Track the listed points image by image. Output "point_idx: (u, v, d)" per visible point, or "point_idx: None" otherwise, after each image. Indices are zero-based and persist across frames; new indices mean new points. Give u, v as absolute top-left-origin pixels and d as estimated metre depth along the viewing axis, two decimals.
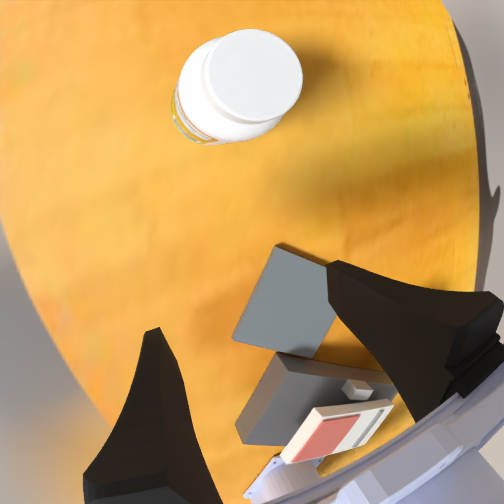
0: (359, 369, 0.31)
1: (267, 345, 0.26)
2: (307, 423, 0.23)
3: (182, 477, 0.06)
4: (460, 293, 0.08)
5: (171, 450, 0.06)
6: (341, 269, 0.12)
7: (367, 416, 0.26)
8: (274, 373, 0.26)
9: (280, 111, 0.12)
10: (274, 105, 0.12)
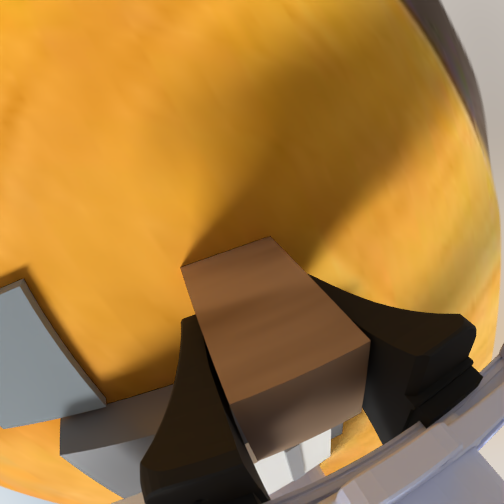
0: None
1: (33, 420, 0.13)
2: None
3: (244, 457, 0.06)
4: (427, 315, 0.08)
5: (232, 430, 0.07)
6: None
7: None
8: None
9: None
10: None
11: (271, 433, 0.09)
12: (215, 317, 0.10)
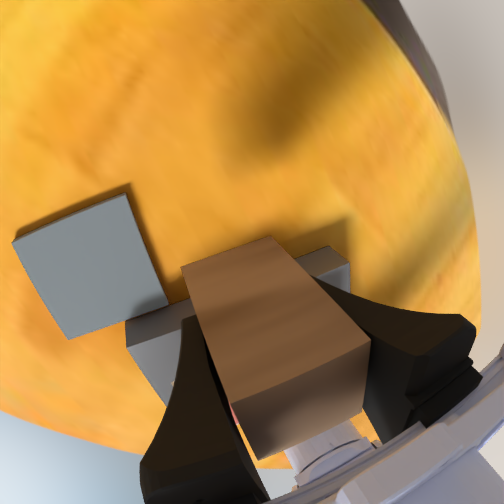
0: None
1: (101, 324, 0.20)
2: None
3: (244, 457, 0.06)
4: (427, 315, 0.08)
5: (232, 430, 0.07)
6: None
7: None
8: None
9: None
10: None
11: (272, 433, 0.09)
12: (216, 316, 0.10)
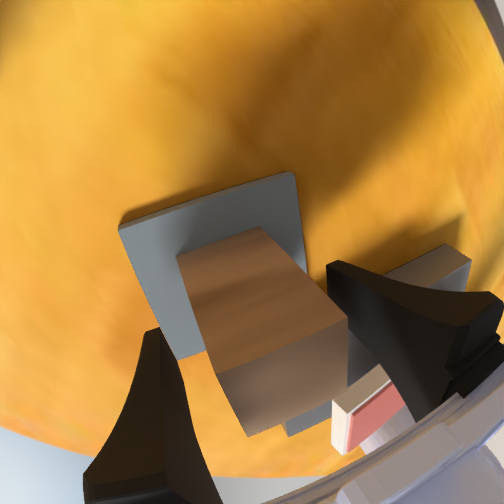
0: (399, 270, 0.20)
1: None
2: (336, 417, 0.15)
3: (182, 477, 0.06)
4: (460, 293, 0.08)
5: (171, 450, 0.06)
6: (341, 269, 0.12)
7: None
8: None
9: None
10: None
11: (258, 408, 0.09)
12: (206, 299, 0.11)
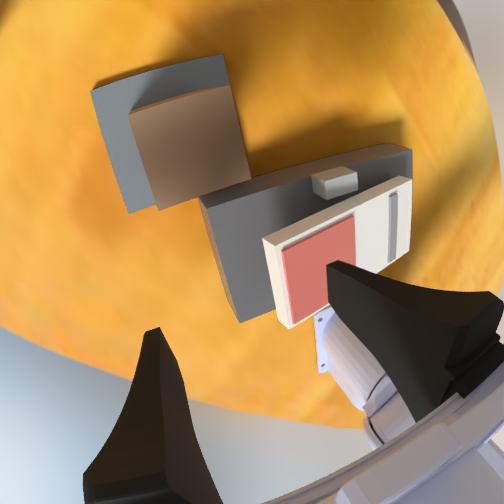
0: (337, 155, 0.23)
1: None
2: (270, 263, 0.18)
3: (182, 477, 0.06)
4: (460, 293, 0.08)
5: (171, 450, 0.06)
6: (341, 269, 0.12)
7: (373, 211, 0.19)
8: (206, 220, 0.20)
9: None
10: None
11: (164, 167, 0.12)
12: (140, 108, 0.13)
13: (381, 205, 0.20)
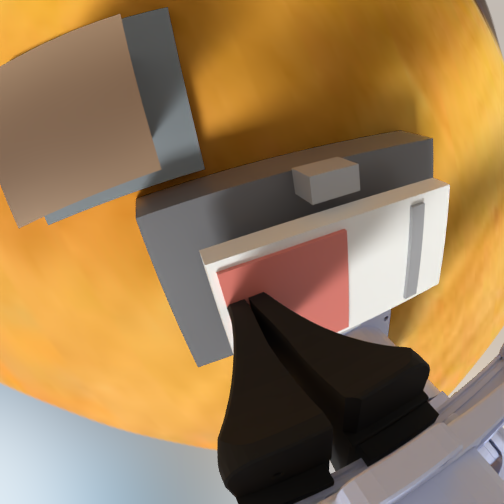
0: (333, 144, 0.16)
1: (100, 197, 0.13)
2: (211, 286, 0.13)
3: None
4: (375, 346, 0.08)
5: None
6: (258, 303, 0.11)
7: (382, 226, 0.13)
8: None
9: None
10: None
11: (18, 158, 0.06)
12: None
13: (397, 218, 0.13)
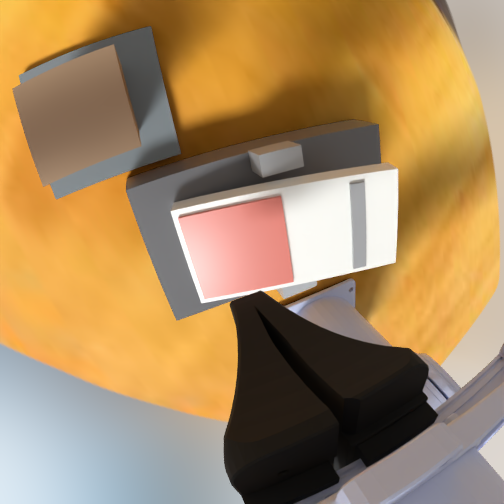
0: (289, 132, 0.20)
1: (98, 176, 0.17)
2: None
3: None
4: (374, 346, 0.08)
5: None
6: (257, 303, 0.11)
7: (319, 198, 0.16)
8: None
9: None
10: None
11: (46, 138, 0.09)
12: None
13: (335, 192, 0.16)
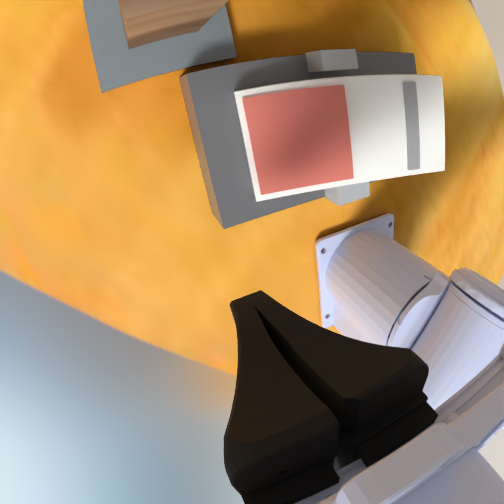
0: None
1: (151, 71, 0.15)
2: (239, 118, 0.16)
3: None
4: (374, 346, 0.08)
5: None
6: (257, 303, 0.11)
7: (377, 91, 0.15)
8: (187, 98, 0.16)
9: None
10: None
11: None
12: None
13: (390, 88, 0.15)
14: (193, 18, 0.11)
